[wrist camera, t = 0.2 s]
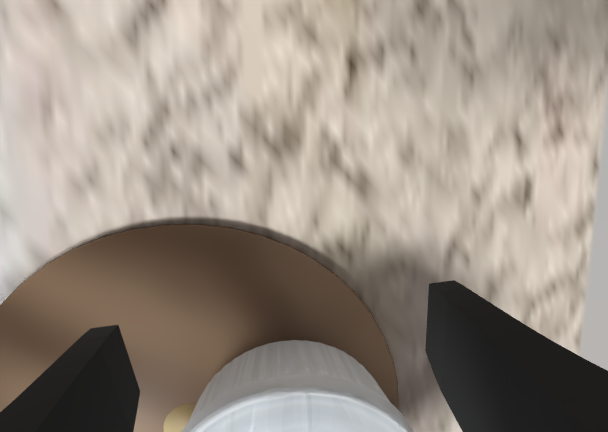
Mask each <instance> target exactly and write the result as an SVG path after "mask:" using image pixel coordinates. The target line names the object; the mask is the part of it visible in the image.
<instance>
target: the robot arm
mask: <svg viewBox="0 0 608 432" xmlns="http://www.w3.org/2000/svg"><path fill="white" fill-rule="evenodd" d="M426 353H427V356H428V359H429V361H430V364H431V367H432V369H433V372H434V374H435V377H436V379H437V382H438V384H439V387H440V389H441V391H442V393H443V395H444V397H445V399H446V401H447V403H448V405H449V407H450V409H451V410H452V412H453V414H454V416H455V418H456V420H457V422H458V424H459V425H460V427H461V429H462V431H463V432H608V371H607V370H605V369H603V368H601V367H599V366H597V365H595V364H593V363H591V362H589V361H587V360H585V359H584V358H582V357H580V356H578V355H576V354H575V353H573V352H571V351H569V350H567V349H566V348H564V347H562V346H560V345H558V344H557V343H555V342H553V341H551V340H550V339H548V338H546V337H544V336H543V335H541V334H539V333H538V332H536V331H534V330H533V329H531V328H529V327H528V326H526V325H524V324H523V323H521V322H520V321H518V320H516V319H515V318H513V317H512V316H510V315H508V314H507V313H505V312H504V311H502V310H501V309H499V308H497V307H496V306H494V305H493V304H491V303H490V302H488V301H486V300H485V299H483V298H482V297H480V296H479V295H477V294H476V293H474V292H472V291H471V290H469V289H468V288H466V287H464V286H463V285H461V284H459V283H458V282H456V281H447V282H439V283H431V284H429V296H428V315H427V333H426ZM139 396H140V389H139V386H138V383H137V380H136V377H135V374H134V371H133V368H132V365H131V362H130V359H129V356H128V353H127V350H126V347H125V343H124V340H123V337H122V334H121V331H120V328H119V325H112V326H104V327H97V328H90V329H89V330H88V331H87V332H86V333H85V334H84V335H82V336H81V337H80V338H79V339H78V340H77V341H76V342H75V343H74V344H73V345H72V346H71V347H69V348H68V349H67V350H66V351H65V352H64V353H63V354H62V355H61V356H60V357H59V358H58V359H57V360H56V361H55V362H54V363H53V364H52V365H51V366H50V367H49V368H48V369H46V370H45V371H44V372H43V373H42V374H41V375H40V376H39V377H38V378H37V379H36V380H35V381H34V382H33V383H32V384H31V385H29V386H28V387H27V388H26V389H25V390H24V391H23V392H22V393H21V394H20V395H19V396H18V397H17V398H16V399H15V400H13V401H12V402H11V403H10V404H9V405H8V406H7V407H6V408H4V409H3V410H2V411H1V412H0V432H133V431H134V426H135V420H136V415H137V409H138V402H139Z"/></svg>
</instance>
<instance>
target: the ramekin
mask: <svg viewBox="0 0 608 432" xmlns="http://www.w3.org/2000/svg"><path fill="white" fill-rule="evenodd" d="M182 432H414V431H413V429H412V427H411V426H410V424H409V423H408V421H407V420H406V419H405V417H404V416H403V415H402V414H401V413H400V412H399V410H398V409H397V408H396V407H395V406H394V405H392V404H391V403H390V401H389V400H388V398H387V397H386V395H385V394H384V393H383V391H382V390H381V388H380V387H379V385H378V384H377V382H376V381H375V379H374V378H373V377H372V375H371V374H370V373H369V372H368V371H367V370H366V369H365V367H364V366H363V365H361V364H360V363H359V362H357V360H356V359H354V358H353V357H351V356H349V355H348V354H347V353H345V352H344V351H341V350H339V349H337V348H335V347H333V346H328V345H325V344H323V343H320V342H312V341H308V340H304V341H300V340H290V341H278V342H274V343H268V344H265V345H263V346H259V347H256V348H254V349H252V350H249V351H247V352H245V353H243V354H242V355H240V356H238V357H236V358H234V359H233V360H232V361H231V362H230V363H228V364H227V365H225V366H224V367H223V368H222V369H221V370H220V371H219V372H218V373H216V374H215V375H214V377H213V378H212V380H211V381H210V382H209V383H208V384H207V386H206V388H205V390H204V392H203V393H202V394H201V396H200V398H199V400H198V402H197V404H196V406H195V409H194V411H193V413H192V415H191V417H190V419H189V421H188V423H187V425H186V426H185V428H184V429H183V430H182Z"/></svg>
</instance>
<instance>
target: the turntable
mask: <svg viewBox="0 0 608 432" xmlns="http://www.w3.org/2000/svg"><path fill="white" fill-rule="evenodd" d="M112 325H119V328H120V331H121V334H122V337H123V340H124V343H125V347H126V350H127V353H128V356H129V359H130V362H131V365H132V368H133V371H134V374H135V377H136V380H137V383H138V386H139V389H140V396H139V402H138V409H137V415H136V420H135V426H134V431H133V432H182V430H183V429H184V428H185V426H186V425H187V423H188V421H189V419H190V417H191V415H192V413H193V411H194V409H195V406H196V404H197V402H198V400H199V398H200V396H201V394H202V393H203V392H204V390H205V388H206V386H207V384H208V383H209V382H210V381H211V380H212V378H213V377H214V375H215V374H216V373H218V372H219V371H220V370H221V369H222V368H223V367H224V366H225V365H227V364H228V363H230V362H231V361H232V360H233V359H234V358H236V357H238V356H240V355H242V354H243V353H245V352H247V351H249V350H252V349H254V348H256V347H259V346H263V345H265V344H268V343H274V342H278V341H290V340H300V341H304V340H308V341H312V342H320V343H323V344H325V345H328V346H333V347H335V348H337V349H339V350H341V351H344V352H345V353H347V354H348V355H349V356H351V357H353V358H354V359H356V360H357V362H359V363H360V364H361V365H363V366H364V367H365V369H366V370H367V371H368V372H369V373H370V374H371V375H372V377H373V378H374V379H375V381H376V382H377V384H378V385H379V387H380V388H381V390H382V391H383V393H384V394H385V395H386V397H387V398H388V400H389V401H390V403H391V404H392V405H394V406H395V407H396V408H397V409H398V384H397V378H396V373H395V368H394V363H393V359H392V356H391V354H390V351H389V348H388V346H387V343H386V340H385V338H384V336H383V334H382V332H381V331H380V329H379V327H378V325H377V323H376V322H375V320H374V318H373V316H372V315H371V313H370V312H369V310H368V309H367V308H366V307H365V305H364V304H363V303H362V301H361V300H360V299H359V298H358V296H357V295H356V294H355V293H354V292H353V291H352V290H351V289H350V288H349V287H348V286H347V285H346V284H345V283H344V282H343V281H342V280H341V279H340V278H339V277H338V276H337V275H335V274H334V273H332V272H331V271H330V270H328V269H327V268H325V267H324V266H323V265H321V264H320V263H318V262H317V261H316V260H314V259H313V258H311V257H309V256H307V255H305V254H303V253H301V252H299V251H298V250H296V249H294V248H292V247H290V246H288V245H285V244H283V243H280V242H277V241H275V240H272V239H270V238H267V237H264V236H262V235H258V234H254V233H250V232H246V231H242V230H237V229H233V228H227V227H219V226H210V225H201V224H167V225H159V226H152V227H144V228H136V229H132V230H128V231H124V232H120V233H116V234H112V235H109V236H105V237H102V238H99V239H97V240H94V241H92V242H89V243H87V244H84V245H82V246H79V247H77V248H74V249H73V250H71V251H69V252H67V253H66V254H64V255H62V256H60V257H58V258H57V259H55V260H53V261H51V262H50V263H48V264H46V265H45V266H44V267H43V268H41V269H40V270H39V271H37V272H36V273H35V274H33V275H32V276H31V277H29V278H28V279H27V280H26V281H24V282H23V283H22V284H21V285H19V286H18V287H17V289H16V290H15V291H14V292H13V293H12V294H11V295H10V296H9V297H8V298H7V299H6V300H5V301H4V302H3V303H2V304H1V305H0V412H1V411H2V410H3V409H4V408H6V407H7V406H8V405H9V404H10V403H11V402H12V401H13V400H15V399H16V398H17V397H18V396H19V395H20V394H21V393H22V392H23V391H24V390H25V389H26V388H27V387H28V386H29V385H31V384H32V383H33V382H34V381H35V380H36V379H37V378H38V377H39V376H40V375H41V374H42V373H43V372H44V371H45V370H46V369H48V368H49V367H50V366H51V365H52V364H53V363H54V362H55V361H56V360H57V359H58V358H59V357H60V356H61V355H62V354H63V353H64V352H65V351H66V350H67V349H68V348H69V347H71V346H72V345H73V344H74V343H75V342H76V341H77V340H78V339H79V338H80V337H81V336H82V335H84V334H85V333H86V332H87V331H88V330H89V329H90V328H97V327H104V326H112Z"/></svg>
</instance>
